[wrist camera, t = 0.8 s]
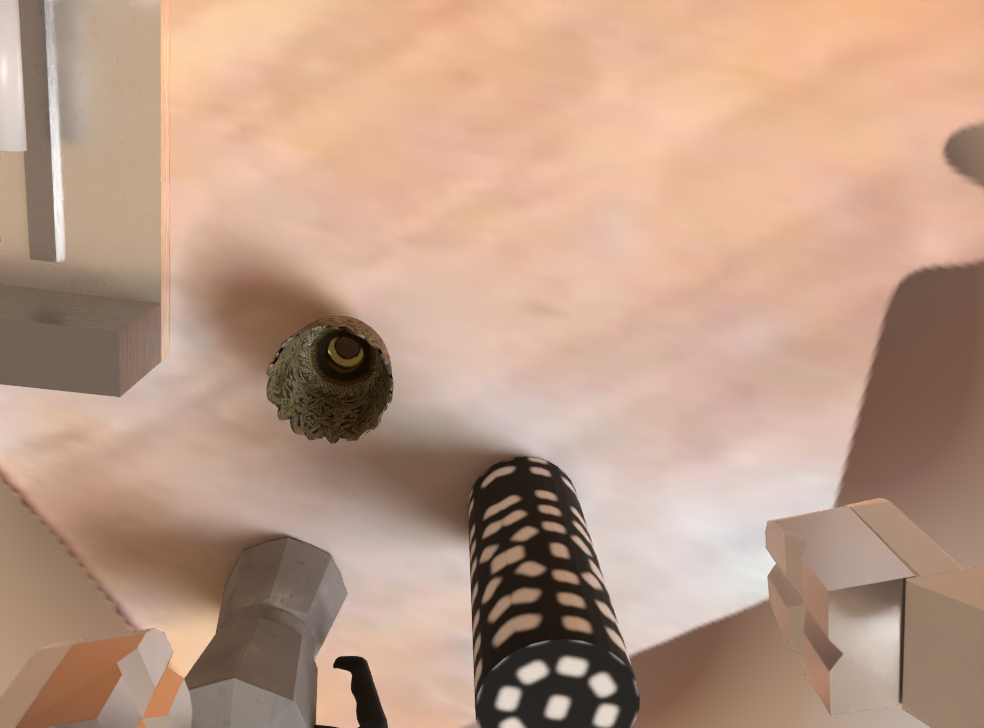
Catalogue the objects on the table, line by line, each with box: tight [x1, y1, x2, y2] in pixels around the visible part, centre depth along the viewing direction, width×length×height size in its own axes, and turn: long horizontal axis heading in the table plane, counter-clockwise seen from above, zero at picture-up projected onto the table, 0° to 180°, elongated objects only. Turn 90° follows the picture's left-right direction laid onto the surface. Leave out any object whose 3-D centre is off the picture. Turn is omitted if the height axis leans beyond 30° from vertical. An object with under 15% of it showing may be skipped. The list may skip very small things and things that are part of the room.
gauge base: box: [0, 0, 170, 397], centre depth 42 cm, size 28×14×8 cm, turn 172°
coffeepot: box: [184, 537, 388, 728], centre depth 49 cm, size 15×9×18 cm, turn 83°
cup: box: [267, 316, 393, 444], centre depth 48 cm, size 8×7×8 cm
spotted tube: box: [468, 457, 640, 728], centre depth 47 cm, size 8×8×20 cm
